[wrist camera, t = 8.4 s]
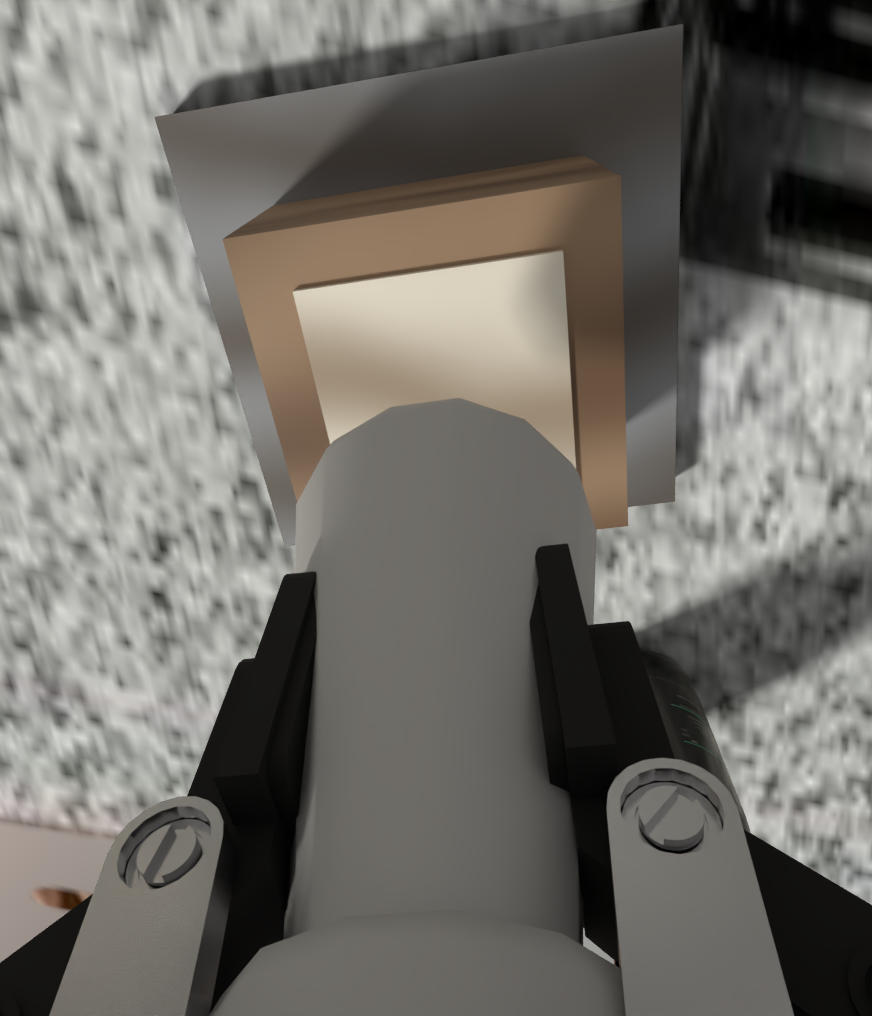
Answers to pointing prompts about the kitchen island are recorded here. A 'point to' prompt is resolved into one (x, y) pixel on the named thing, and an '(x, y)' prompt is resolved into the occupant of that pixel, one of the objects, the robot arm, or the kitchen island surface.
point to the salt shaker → (432, 735)
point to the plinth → (459, 138)
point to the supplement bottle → (687, 721)
